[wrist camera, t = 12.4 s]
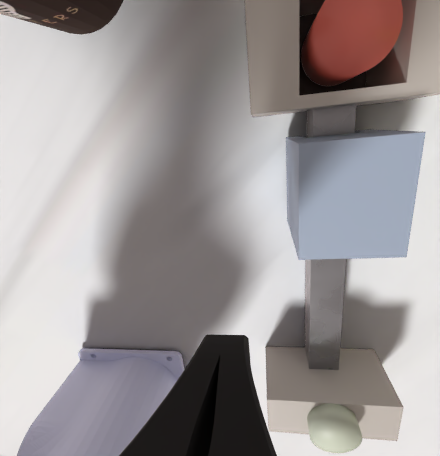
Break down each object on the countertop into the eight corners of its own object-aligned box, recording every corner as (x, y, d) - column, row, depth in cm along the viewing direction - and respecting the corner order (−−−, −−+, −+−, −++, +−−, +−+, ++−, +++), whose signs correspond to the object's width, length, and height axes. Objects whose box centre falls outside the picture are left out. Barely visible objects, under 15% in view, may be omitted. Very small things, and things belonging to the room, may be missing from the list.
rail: (304, 347, 21) (308, 368, 19) (306, 111, 15) (313, 109, 13) (331, 348, 21) (338, 370, 19) (344, 106, 15) (356, 104, 13)
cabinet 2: (267, 374, 23) (269, 447, 17) (265, 346, 22) (267, 414, 16) (370, 379, 21) (404, 459, 16) (373, 349, 20) (412, 424, 15)
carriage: (287, 219, 17) (298, 259, 12) (286, 137, 16) (298, 143, 10) (361, 216, 17) (406, 257, 11) (368, 129, 15) (425, 131, 10)
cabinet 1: (253, 117, 16) (251, 114, 12) (247, 13, 14) (242, -34, 10) (404, 100, 14) (462, 90, 10) (418, -17, 13) (495, -85, 9)
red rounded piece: (300, 89, 14) (313, 79, 11) (301, 19, 13) (315, -17, 10) (363, 82, 13) (397, 68, 10) (369, 8, 12) (408, -34, 9)
